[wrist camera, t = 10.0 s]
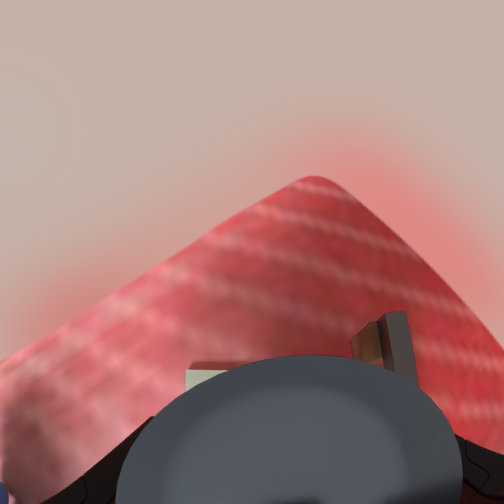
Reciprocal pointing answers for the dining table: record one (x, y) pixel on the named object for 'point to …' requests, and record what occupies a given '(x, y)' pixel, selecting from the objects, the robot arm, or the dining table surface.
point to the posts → (368, 345)
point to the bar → (397, 345)
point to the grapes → (3, 495)
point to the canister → (296, 440)
